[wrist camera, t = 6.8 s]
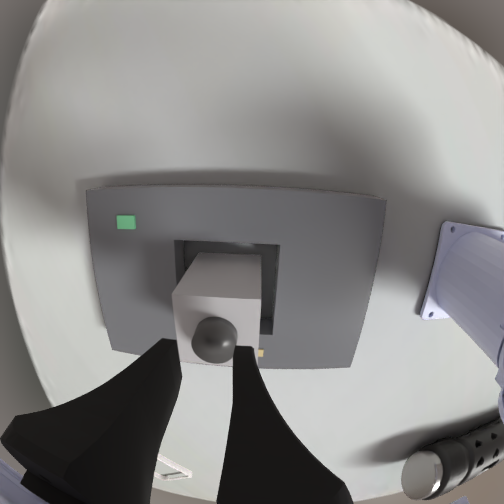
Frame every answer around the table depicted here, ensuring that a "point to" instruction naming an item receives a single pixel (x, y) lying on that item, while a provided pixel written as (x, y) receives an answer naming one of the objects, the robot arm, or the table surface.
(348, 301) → the charging plate
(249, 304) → the charger plug
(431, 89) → the table surface
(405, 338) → the table surface
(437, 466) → the muzzle brake
